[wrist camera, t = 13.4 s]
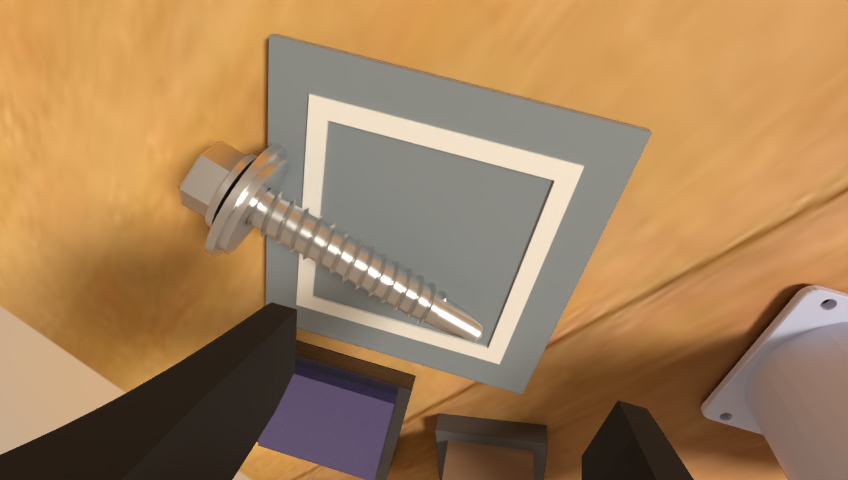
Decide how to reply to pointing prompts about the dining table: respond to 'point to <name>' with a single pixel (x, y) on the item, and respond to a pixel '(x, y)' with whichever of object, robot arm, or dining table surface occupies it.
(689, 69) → the dining table surface
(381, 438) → the ink pad
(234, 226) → the screw
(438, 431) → the stamp
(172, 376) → the robot arm
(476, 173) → the marked board
